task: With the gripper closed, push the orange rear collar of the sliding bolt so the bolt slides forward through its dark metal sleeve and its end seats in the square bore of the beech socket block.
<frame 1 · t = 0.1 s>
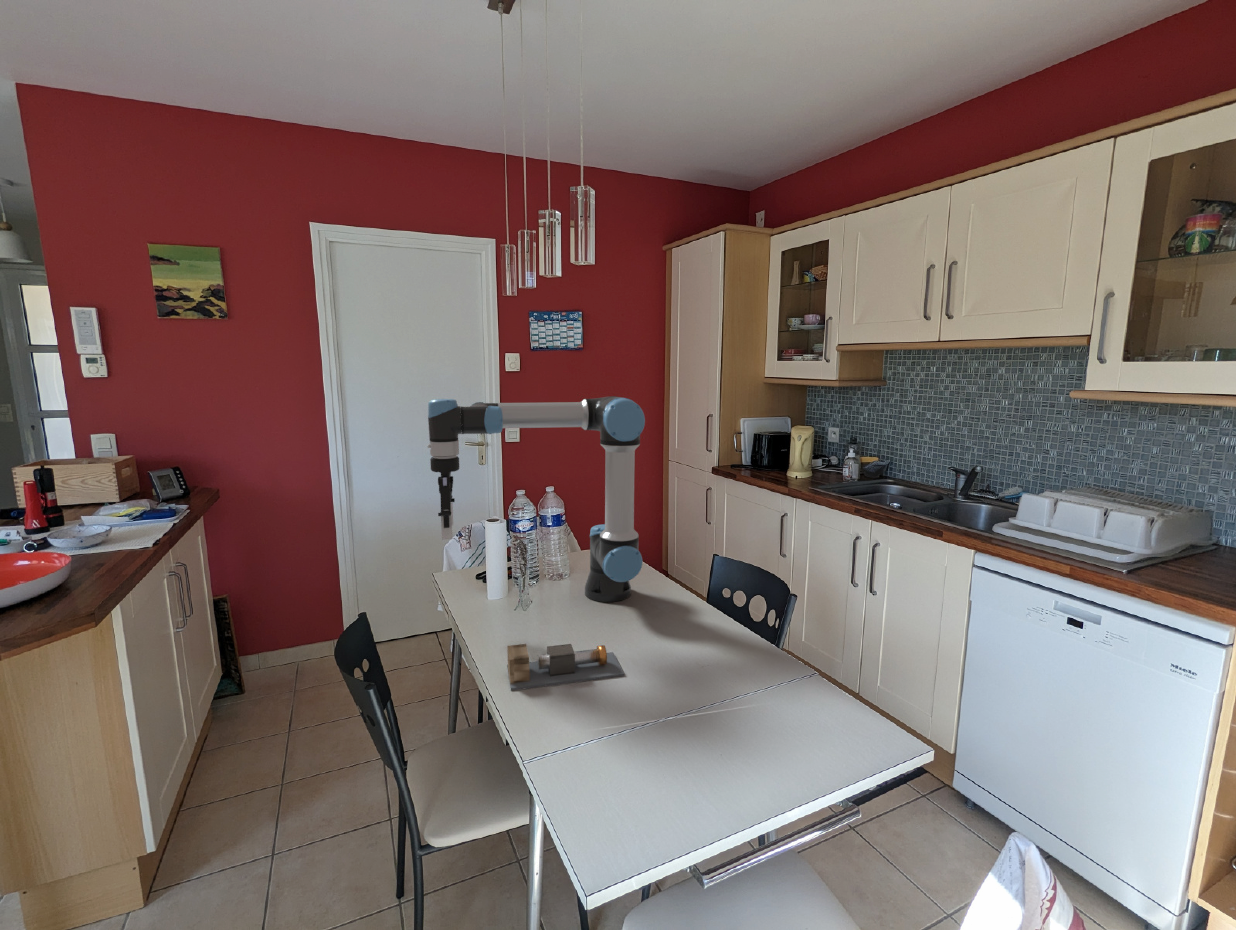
hand: (447, 531, 163), 28 cm above the table, fingers open, 13 cm apart
sleeve: (560, 671, 143), resting on base mat
sliding bolt: (572, 658, 143), point 3 cm above the table, slide at 0.0 cm
base mat: (565, 671, 143), on the table
socket block: (518, 677, 141), resting on base mat
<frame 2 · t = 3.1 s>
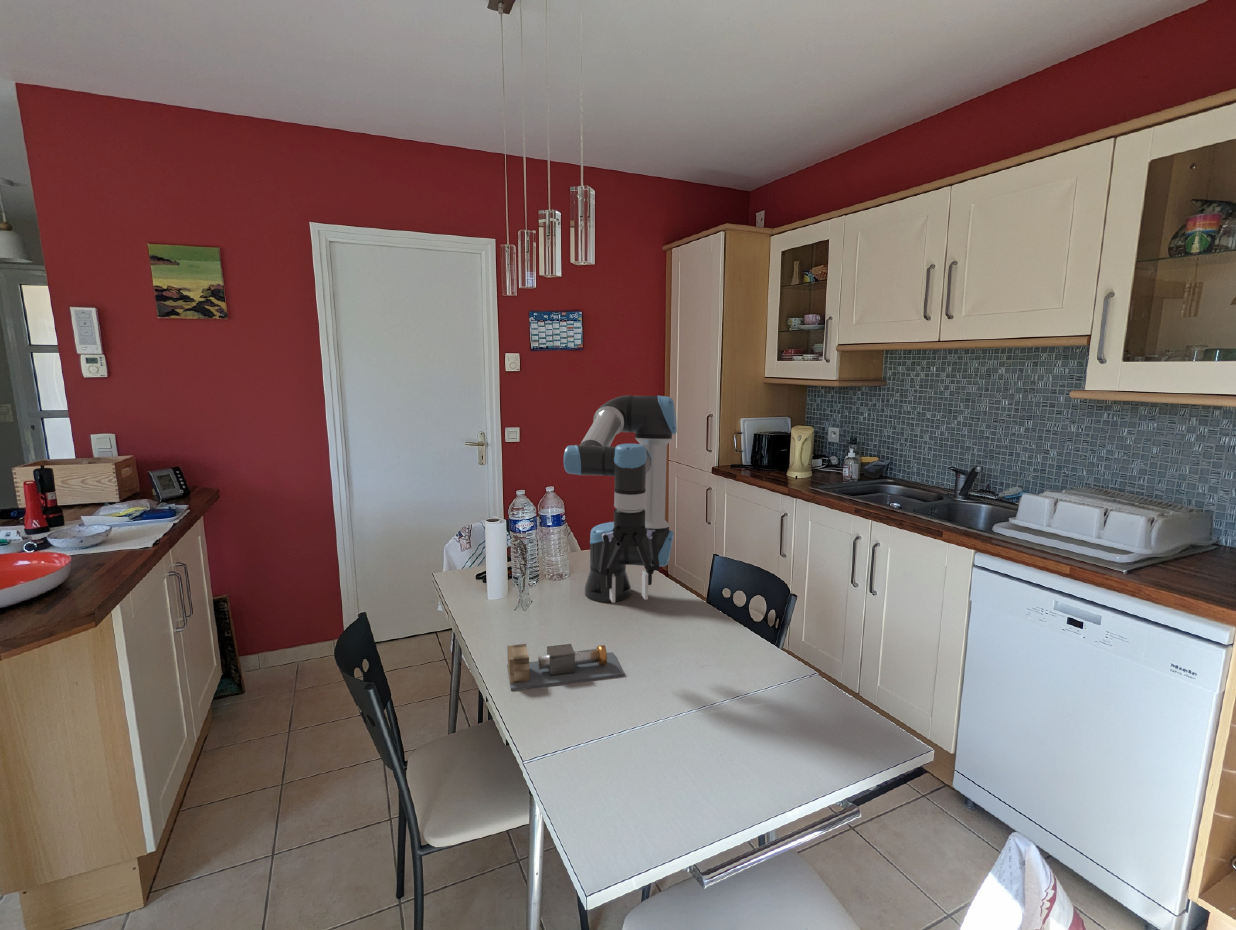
hand: (628, 598, 145), 17 cm above the table, fingers open, 8 cm apart
nothing on the table moved.
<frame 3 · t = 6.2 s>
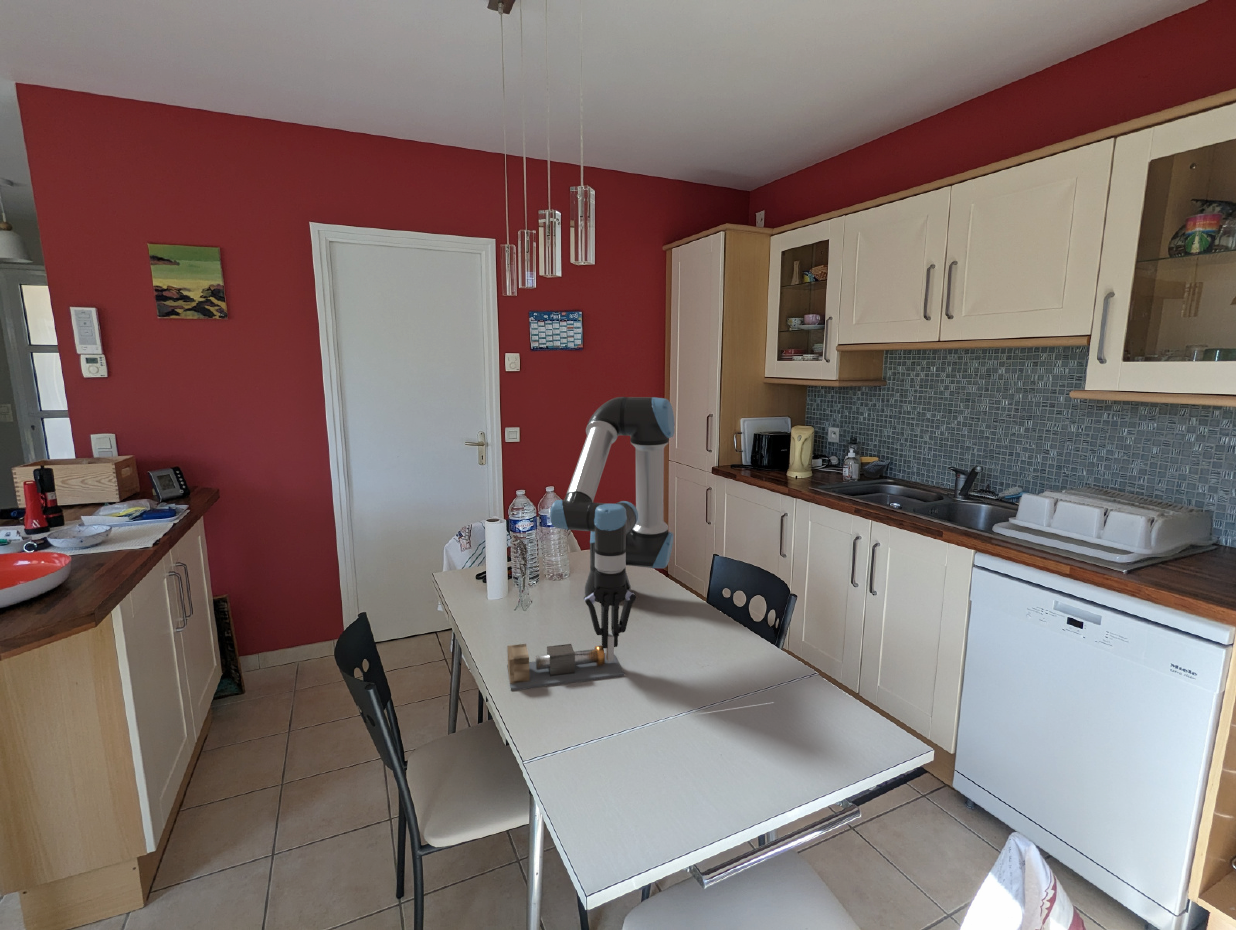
hand: (609, 658, 146), 2 cm above the table, fingers closed
sliding bolt: (569, 658, 143), point 3 cm above the table, slide at 0.6 cm, touching gripper
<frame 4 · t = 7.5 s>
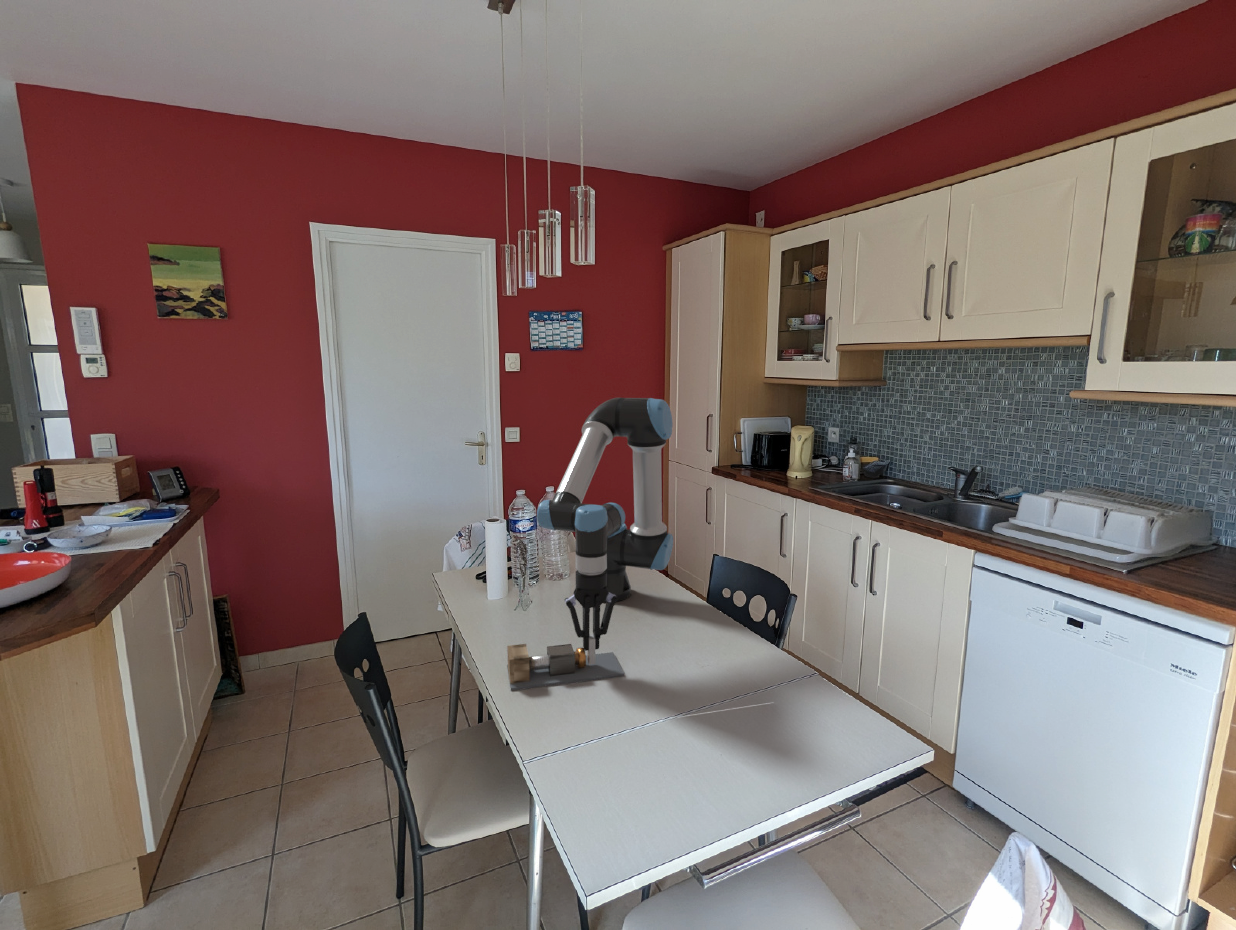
hand: (591, 661, 145), 2 cm above the table, fingers closed
sliding bolt: (550, 661, 142), point 3 cm above the table, slide at 5.3 cm, touching gripper
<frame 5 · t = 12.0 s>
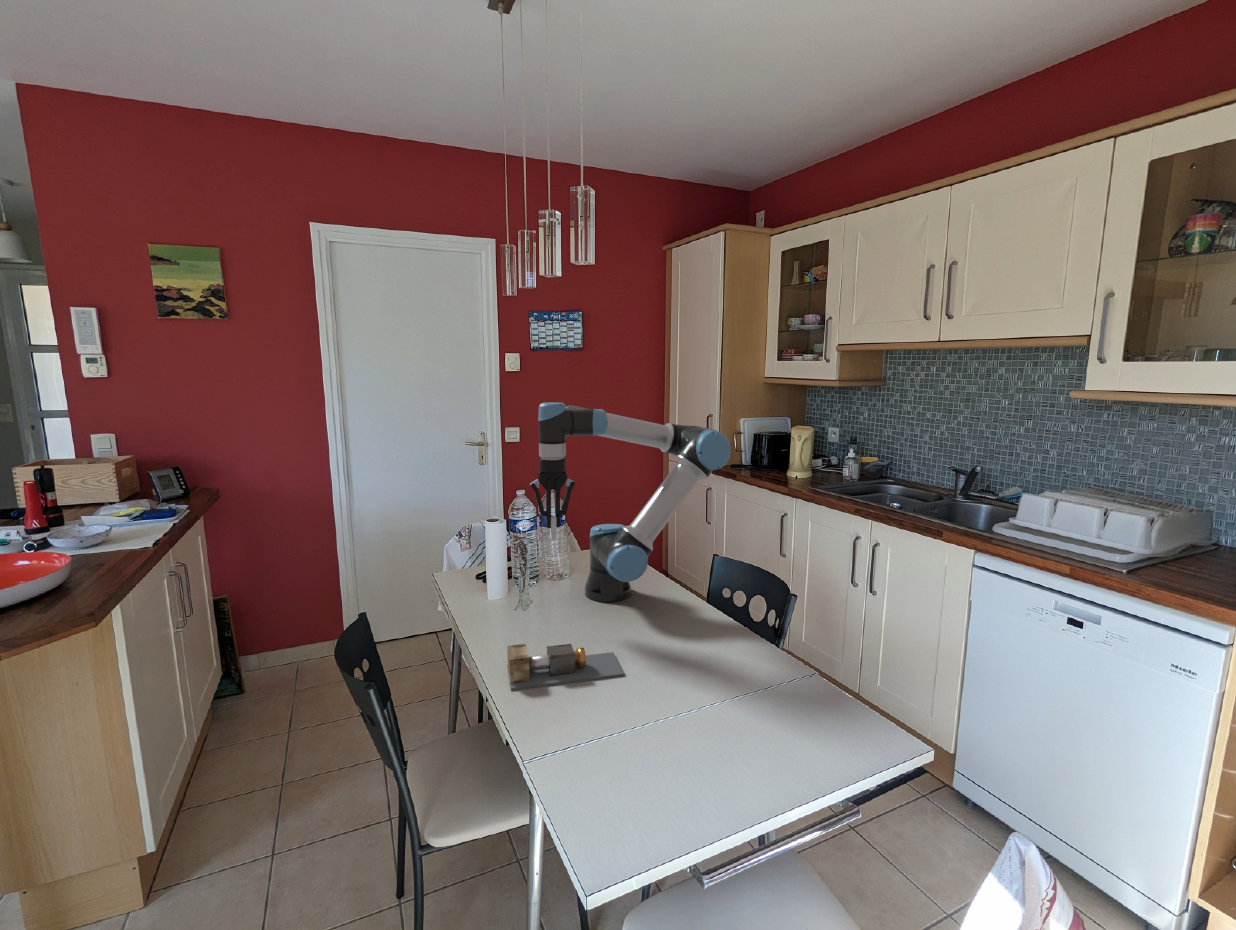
hand: (553, 538, 169), 24 cm above the table, fingers closed
sliding bolt: (550, 661, 142), point 3 cm above the table, slide at 5.3 cm
at the end: sliding bolt slide at 5.3 cm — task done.
